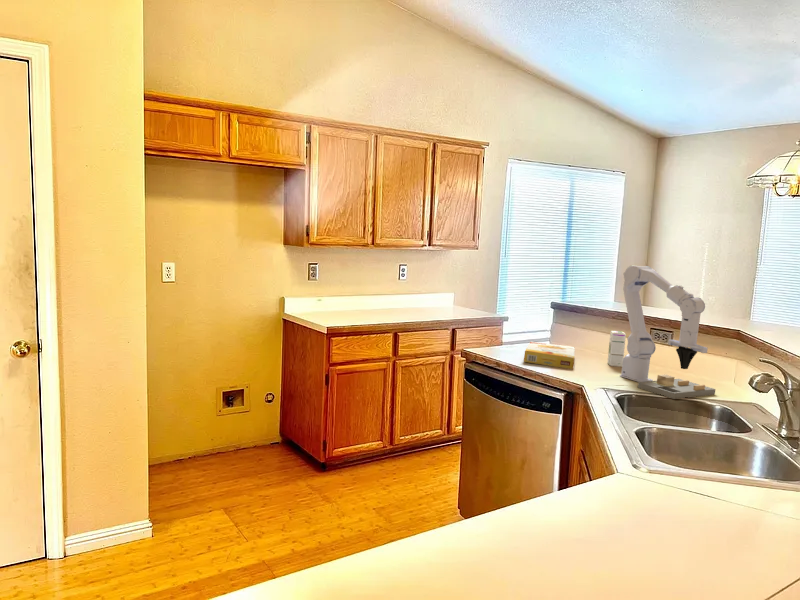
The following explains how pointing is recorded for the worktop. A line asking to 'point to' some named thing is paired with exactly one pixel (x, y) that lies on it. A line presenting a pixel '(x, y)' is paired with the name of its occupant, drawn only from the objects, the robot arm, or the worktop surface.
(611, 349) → the syrup box
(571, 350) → the cereal box
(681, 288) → the robot arm
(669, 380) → the birch block
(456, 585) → the worktop surface
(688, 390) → the board
